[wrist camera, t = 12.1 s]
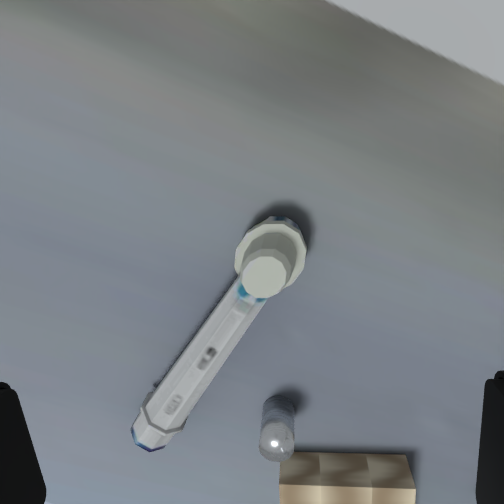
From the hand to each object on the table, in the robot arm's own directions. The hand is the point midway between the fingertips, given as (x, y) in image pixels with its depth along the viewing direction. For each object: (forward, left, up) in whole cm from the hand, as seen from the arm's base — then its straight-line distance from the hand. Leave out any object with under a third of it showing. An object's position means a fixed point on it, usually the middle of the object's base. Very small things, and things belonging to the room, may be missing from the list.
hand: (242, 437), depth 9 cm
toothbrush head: (+7, +13, -28) cm, 32 cm away
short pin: (+1, +21, -28) cm, 35 cm away
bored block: (-5, +32, -28) cm, 43 cm away
